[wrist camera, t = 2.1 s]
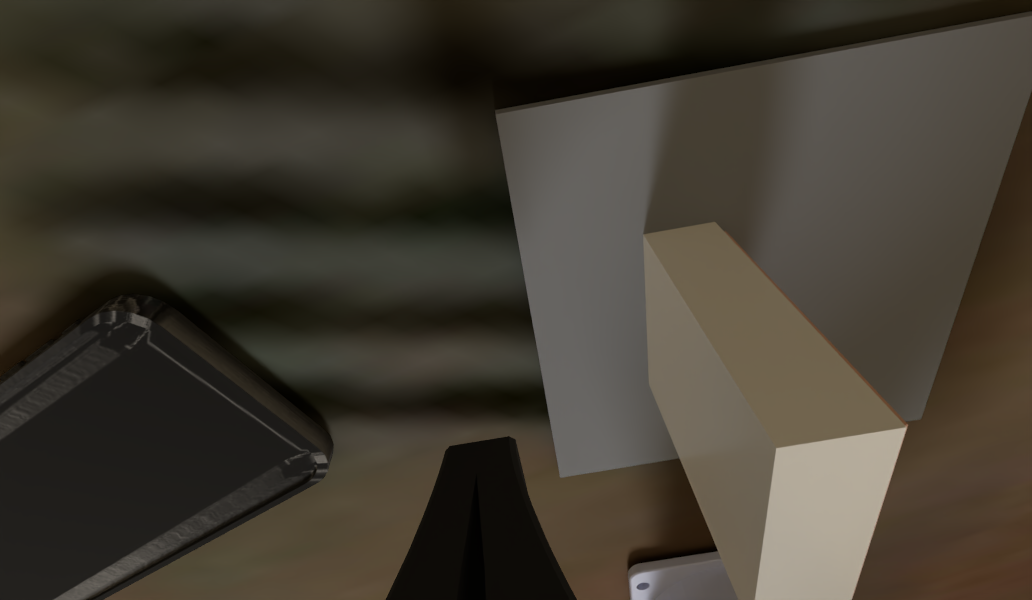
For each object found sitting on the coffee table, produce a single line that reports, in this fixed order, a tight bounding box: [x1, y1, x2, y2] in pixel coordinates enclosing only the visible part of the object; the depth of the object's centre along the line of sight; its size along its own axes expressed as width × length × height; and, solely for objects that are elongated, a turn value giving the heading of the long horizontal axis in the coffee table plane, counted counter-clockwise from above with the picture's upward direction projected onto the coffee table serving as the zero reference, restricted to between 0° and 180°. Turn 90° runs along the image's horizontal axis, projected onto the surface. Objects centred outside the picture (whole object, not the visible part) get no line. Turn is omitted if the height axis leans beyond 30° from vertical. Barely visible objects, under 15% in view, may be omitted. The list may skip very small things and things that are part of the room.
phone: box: [0, 294, 334, 600], centre depth 17 cm, size 8×1×15 cm
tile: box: [643, 222, 908, 600], centre depth 12 cm, size 5×2×7 cm, turn 9°
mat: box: [495, 11, 1032, 478], centre depth 15 cm, size 12×12×1 cm
